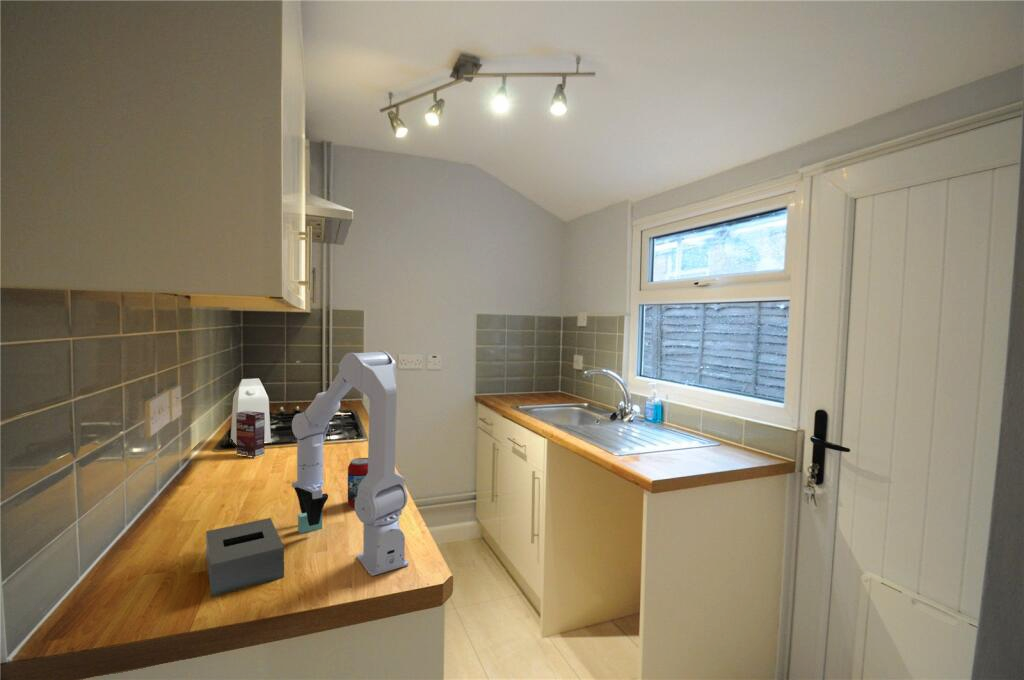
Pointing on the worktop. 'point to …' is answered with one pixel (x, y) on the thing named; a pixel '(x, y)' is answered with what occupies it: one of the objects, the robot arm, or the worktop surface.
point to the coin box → (243, 556)
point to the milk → (251, 404)
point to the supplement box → (250, 433)
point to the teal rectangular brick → (304, 525)
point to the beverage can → (356, 477)
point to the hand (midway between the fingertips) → (310, 518)
